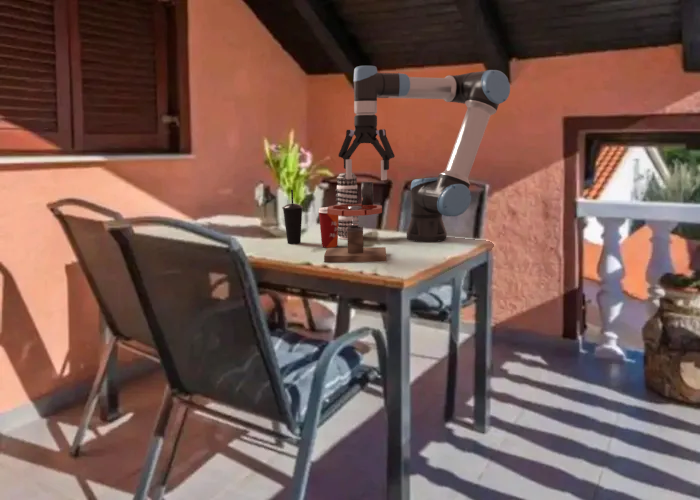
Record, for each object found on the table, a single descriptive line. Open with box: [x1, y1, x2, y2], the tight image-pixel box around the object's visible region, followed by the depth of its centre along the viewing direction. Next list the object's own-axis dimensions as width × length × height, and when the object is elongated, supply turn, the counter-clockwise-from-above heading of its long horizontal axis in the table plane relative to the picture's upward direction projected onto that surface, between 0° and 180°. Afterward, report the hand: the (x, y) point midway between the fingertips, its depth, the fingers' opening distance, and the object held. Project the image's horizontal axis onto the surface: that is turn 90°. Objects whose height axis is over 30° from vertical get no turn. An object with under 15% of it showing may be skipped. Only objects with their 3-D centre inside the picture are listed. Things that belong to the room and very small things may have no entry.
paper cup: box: [318, 206, 339, 249], centre depth 242 cm, size 8×8×14 cm
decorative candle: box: [334, 172, 360, 241], centre depth 259 cm, size 9×9×25 cm
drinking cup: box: [281, 189, 304, 245], centre depth 250 cm, size 8×8×20 cm
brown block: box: [323, 225, 387, 263], centre depth 222 cm, size 20×14×10 cm
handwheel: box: [327, 181, 383, 228], centre depth 219 cm, size 18×18×15 cm
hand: (366, 179), depth 224 cm, fingers open, 13 cm apart
